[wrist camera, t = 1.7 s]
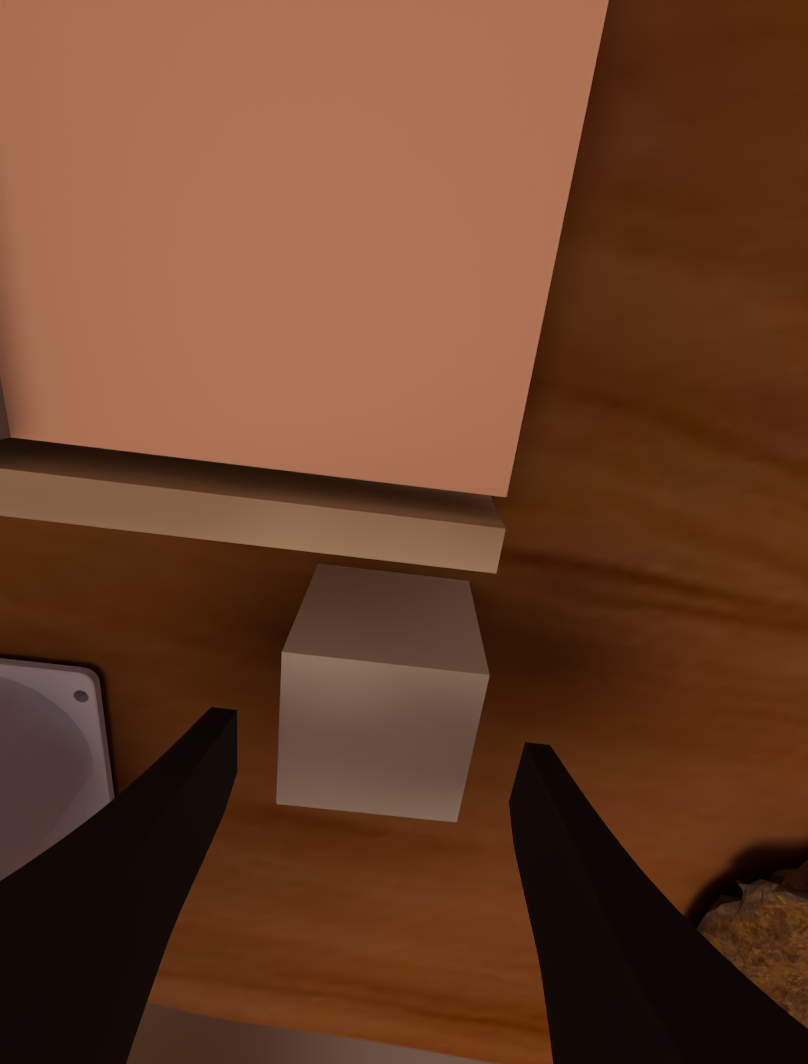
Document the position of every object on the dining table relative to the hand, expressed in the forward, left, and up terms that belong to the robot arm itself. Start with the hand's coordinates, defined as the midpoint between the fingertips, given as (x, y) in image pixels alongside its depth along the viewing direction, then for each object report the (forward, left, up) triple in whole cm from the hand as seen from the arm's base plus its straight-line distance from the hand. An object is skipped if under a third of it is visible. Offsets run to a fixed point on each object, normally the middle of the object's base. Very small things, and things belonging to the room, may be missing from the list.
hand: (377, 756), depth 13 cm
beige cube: (0, 0, -6) cm, 6 cm away
